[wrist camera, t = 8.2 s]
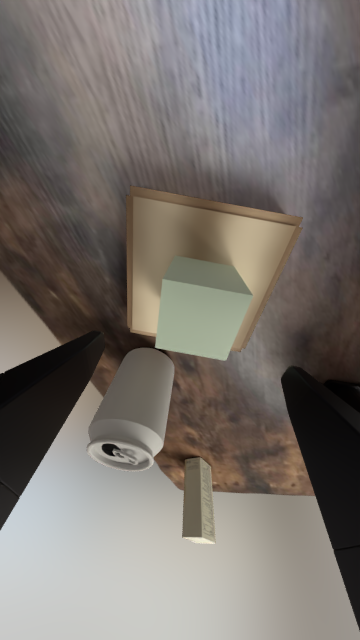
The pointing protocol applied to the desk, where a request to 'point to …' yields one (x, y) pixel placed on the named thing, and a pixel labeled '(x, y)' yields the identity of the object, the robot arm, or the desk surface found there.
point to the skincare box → (198, 502)
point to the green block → (201, 308)
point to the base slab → (201, 250)
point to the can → (133, 412)
